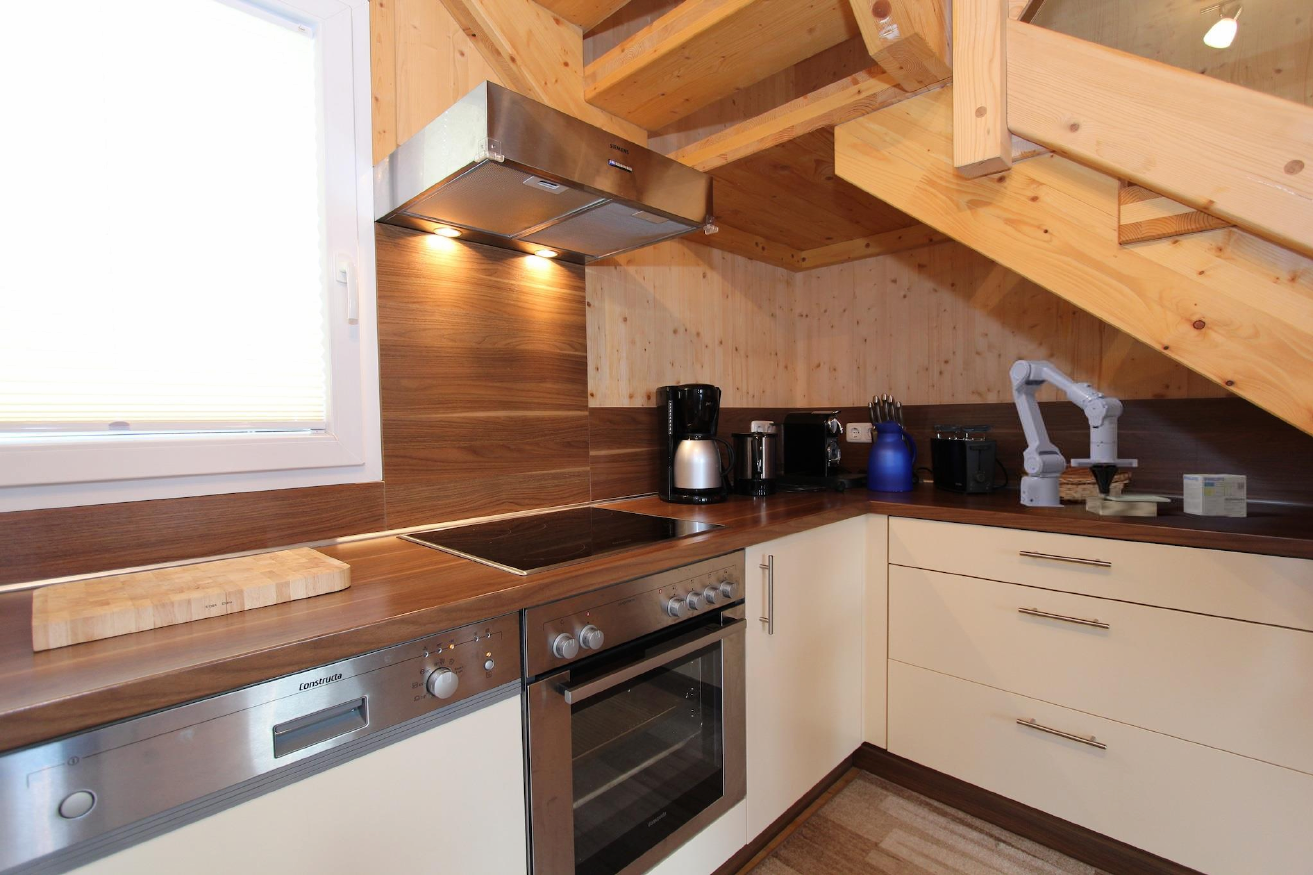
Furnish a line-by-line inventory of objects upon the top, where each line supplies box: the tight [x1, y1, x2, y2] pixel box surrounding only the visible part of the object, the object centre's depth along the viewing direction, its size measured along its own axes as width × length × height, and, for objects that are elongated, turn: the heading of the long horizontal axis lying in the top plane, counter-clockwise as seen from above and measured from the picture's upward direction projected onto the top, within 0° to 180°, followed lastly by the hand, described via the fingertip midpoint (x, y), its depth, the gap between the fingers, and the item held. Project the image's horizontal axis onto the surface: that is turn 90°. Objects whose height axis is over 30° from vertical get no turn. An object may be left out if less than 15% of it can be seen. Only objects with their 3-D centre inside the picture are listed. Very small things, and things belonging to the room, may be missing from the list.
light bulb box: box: [1182, 473, 1247, 518], centre depth 154 cm, size 11×7×11 cm, turn 84°
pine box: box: [1085, 496, 1158, 517], centre depth 158 cm, size 12×10×4 cm
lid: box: [1097, 488, 1171, 503], centre depth 157 cm, size 12×10×3 cm
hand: (1103, 493), depth 159 cm, fingers closed
